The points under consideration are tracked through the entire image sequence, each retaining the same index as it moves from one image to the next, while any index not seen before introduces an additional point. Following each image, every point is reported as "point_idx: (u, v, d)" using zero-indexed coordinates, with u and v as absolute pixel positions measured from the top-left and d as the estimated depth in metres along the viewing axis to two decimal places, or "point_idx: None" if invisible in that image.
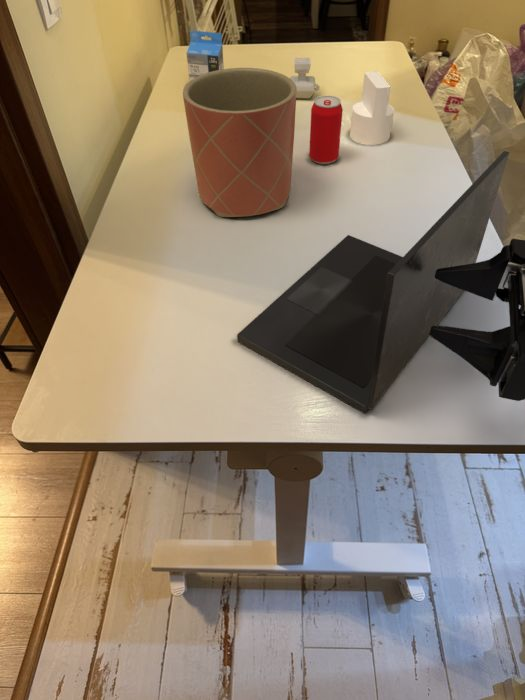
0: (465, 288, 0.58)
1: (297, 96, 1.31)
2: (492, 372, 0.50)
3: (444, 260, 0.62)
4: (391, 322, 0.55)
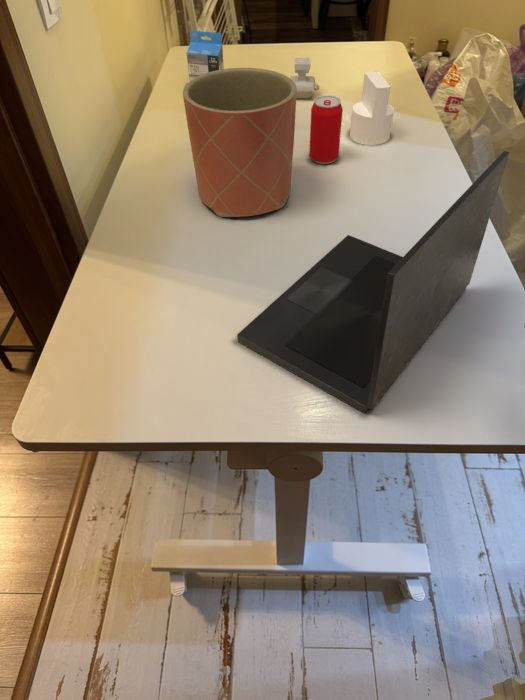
0: None
1: (297, 96, 1.31)
2: None
3: (444, 260, 0.62)
4: (391, 322, 0.55)
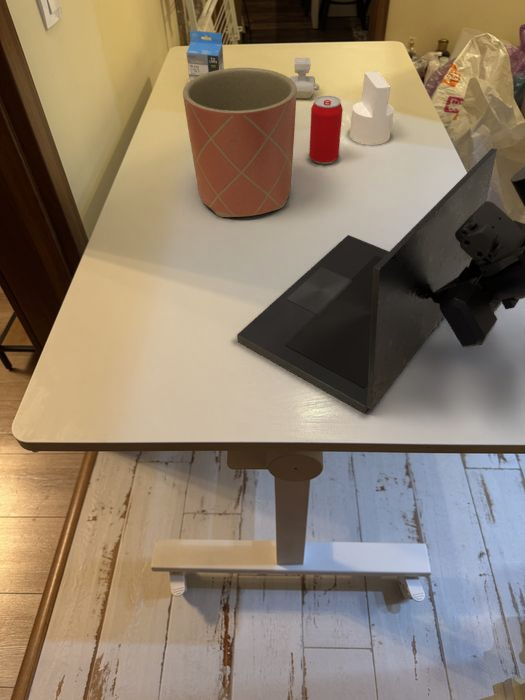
0: None
1: (297, 96, 1.31)
2: None
3: (436, 257, 0.62)
4: (382, 318, 0.55)
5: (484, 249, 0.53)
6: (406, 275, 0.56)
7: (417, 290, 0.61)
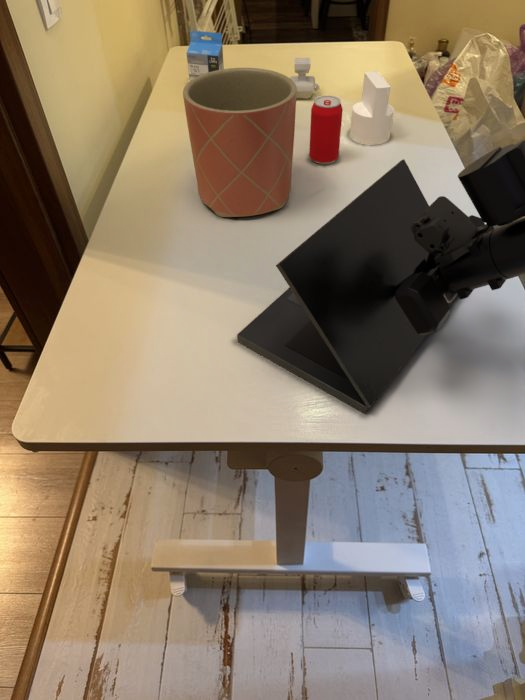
0: None
1: (297, 96, 1.31)
2: None
3: (373, 254, 0.68)
4: (318, 309, 0.61)
5: (436, 241, 0.56)
6: (330, 270, 0.63)
7: (363, 284, 0.66)
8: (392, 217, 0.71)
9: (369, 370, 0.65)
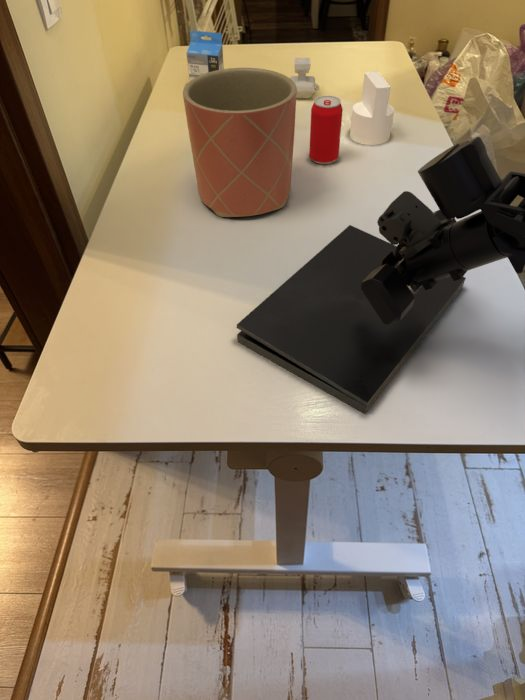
0: None
1: (297, 96, 1.31)
2: None
3: (335, 291, 0.77)
4: (283, 343, 0.70)
5: (399, 234, 0.59)
6: (290, 314, 0.73)
7: (329, 314, 0.74)
8: (349, 263, 0.81)
9: (356, 374, 0.67)
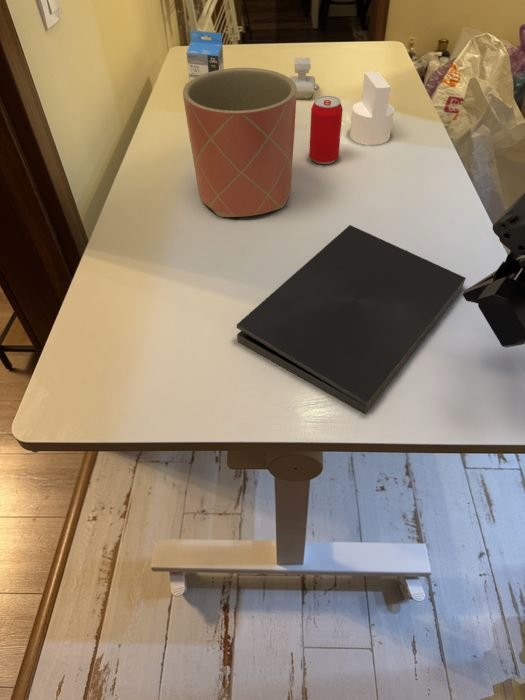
0: None
1: (297, 96, 1.31)
2: None
3: (335, 291, 0.77)
4: (283, 343, 0.70)
5: None
6: (290, 314, 0.73)
7: (329, 314, 0.74)
8: (349, 263, 0.81)
9: (356, 374, 0.67)
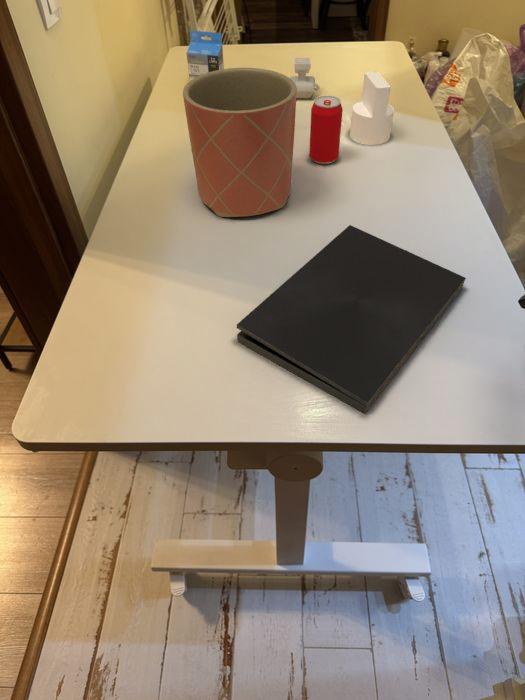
0: None
1: (297, 96, 1.31)
2: None
3: (335, 291, 0.77)
4: (283, 343, 0.70)
5: None
6: (290, 314, 0.73)
7: (329, 314, 0.74)
8: (349, 263, 0.81)
9: (356, 374, 0.67)
